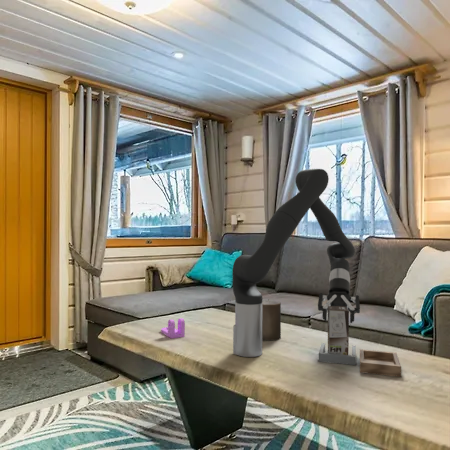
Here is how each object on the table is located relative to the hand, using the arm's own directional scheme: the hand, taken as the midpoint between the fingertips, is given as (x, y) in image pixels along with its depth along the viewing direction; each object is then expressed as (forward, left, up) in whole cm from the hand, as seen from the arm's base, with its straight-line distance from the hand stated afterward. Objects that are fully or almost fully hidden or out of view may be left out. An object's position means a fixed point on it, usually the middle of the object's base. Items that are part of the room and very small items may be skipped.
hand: (338, 320), depth 138 cm
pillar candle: (-27, +12, -11) cm, 32 cm away
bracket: (-65, +4, -11) cm, 66 cm away
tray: (+13, -11, -11) cm, 20 cm away
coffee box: (0, -4, -11) cm, 12 cm away
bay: (0, -4, -11) cm, 12 cm away
